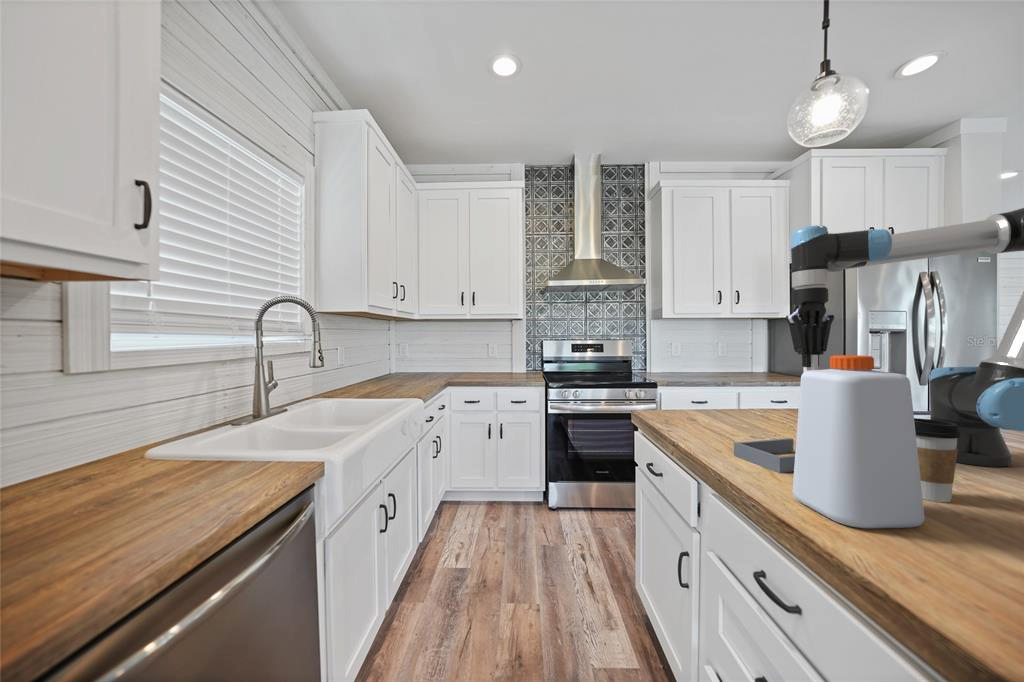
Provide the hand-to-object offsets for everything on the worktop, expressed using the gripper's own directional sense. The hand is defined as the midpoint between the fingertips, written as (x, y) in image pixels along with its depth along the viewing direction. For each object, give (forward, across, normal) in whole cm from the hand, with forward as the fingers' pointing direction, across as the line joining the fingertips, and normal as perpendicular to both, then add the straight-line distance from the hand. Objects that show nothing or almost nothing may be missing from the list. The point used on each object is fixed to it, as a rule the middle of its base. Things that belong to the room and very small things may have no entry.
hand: (810, 379), depth 102 cm
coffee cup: (+21, +1, +25) cm, 32 cm away
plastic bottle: (+21, +22, +27) cm, 40 cm away
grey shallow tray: (+20, +8, 0) cm, 22 cm away
